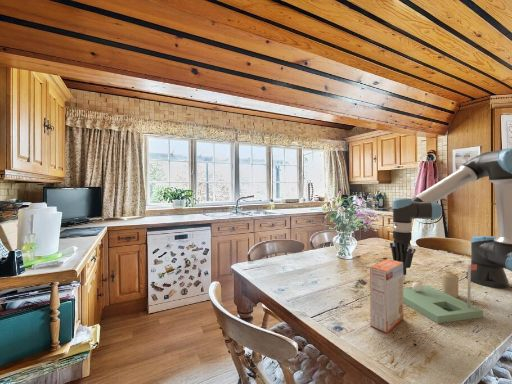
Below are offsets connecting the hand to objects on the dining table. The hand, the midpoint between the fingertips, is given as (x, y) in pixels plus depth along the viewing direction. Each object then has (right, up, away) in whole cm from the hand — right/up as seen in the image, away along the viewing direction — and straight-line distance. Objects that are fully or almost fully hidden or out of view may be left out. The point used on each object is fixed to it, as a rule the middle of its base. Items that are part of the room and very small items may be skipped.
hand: (401, 280), depth 110 cm
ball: (+2, +1, -9) cm, 9 cm away
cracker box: (-22, -5, -27) cm, 35 cm away
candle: (+18, -4, -6) cm, 19 cm away
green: (+3, -4, -15) cm, 16 cm away
